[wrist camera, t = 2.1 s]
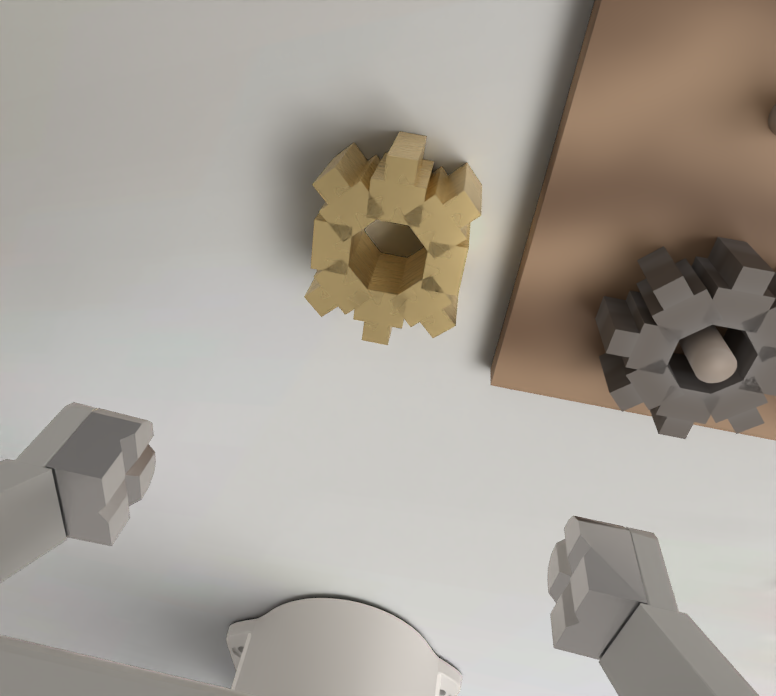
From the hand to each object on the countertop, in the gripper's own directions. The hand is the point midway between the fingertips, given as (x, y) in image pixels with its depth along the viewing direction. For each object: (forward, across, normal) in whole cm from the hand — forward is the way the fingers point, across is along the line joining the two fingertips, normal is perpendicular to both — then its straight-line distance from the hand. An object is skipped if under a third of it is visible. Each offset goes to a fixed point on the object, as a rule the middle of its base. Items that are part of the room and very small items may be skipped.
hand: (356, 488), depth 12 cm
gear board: (+19, +13, +1) cm, 23 cm away
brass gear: (+19, -1, -2) cm, 19 cm away
